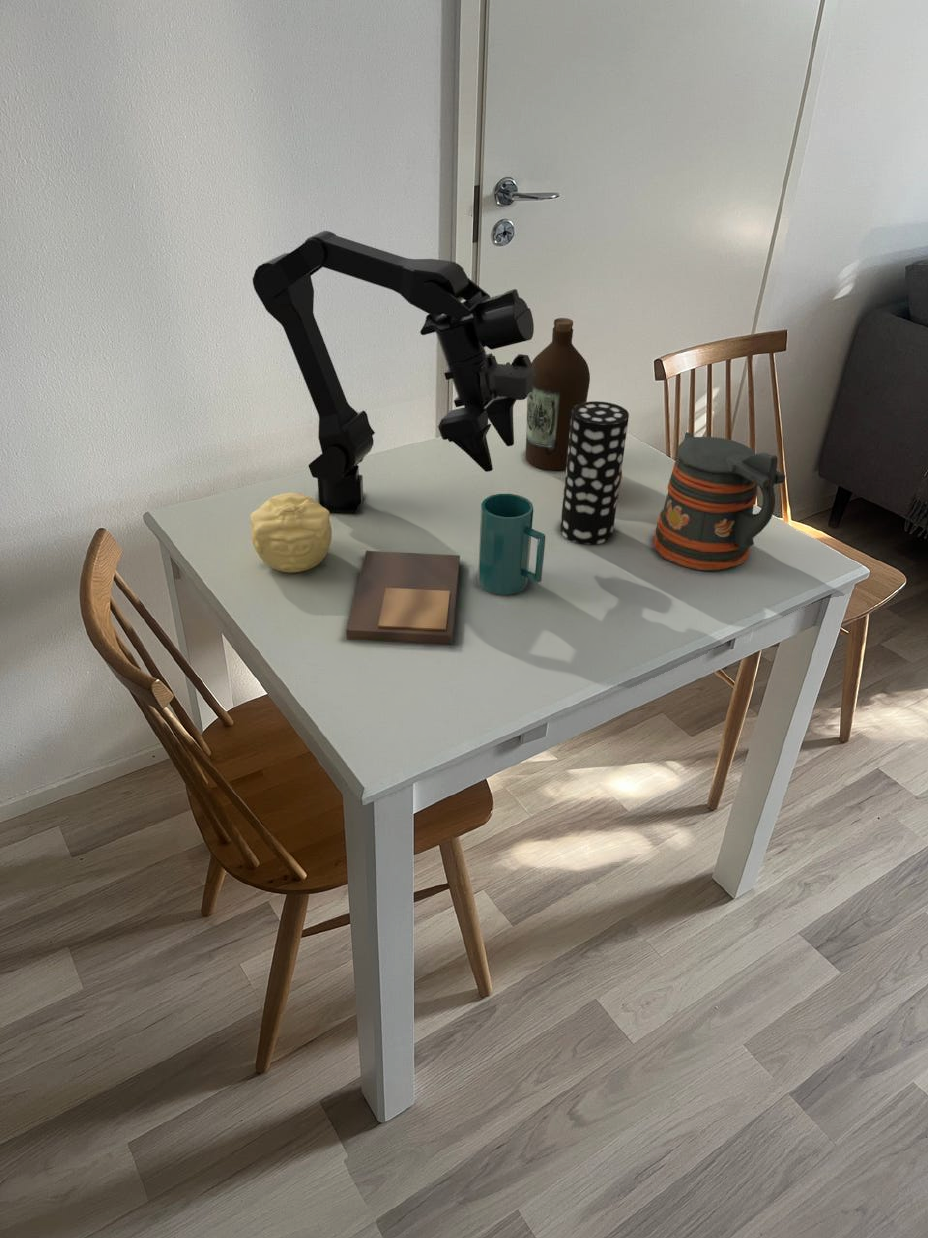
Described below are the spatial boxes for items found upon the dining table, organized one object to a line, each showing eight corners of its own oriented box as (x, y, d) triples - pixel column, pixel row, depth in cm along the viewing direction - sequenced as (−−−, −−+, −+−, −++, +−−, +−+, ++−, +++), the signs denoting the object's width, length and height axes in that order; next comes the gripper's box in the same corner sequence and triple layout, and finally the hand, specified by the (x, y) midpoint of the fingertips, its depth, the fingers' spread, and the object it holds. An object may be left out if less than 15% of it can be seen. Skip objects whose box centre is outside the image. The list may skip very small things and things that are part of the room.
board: (346, 639, 128) (345, 628, 127) (366, 559, 144) (365, 548, 143) (451, 644, 128) (452, 633, 127) (459, 563, 144) (460, 553, 143)
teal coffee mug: (468, 582, 140) (471, 506, 133) (498, 562, 144) (503, 488, 137) (524, 609, 135) (530, 532, 127) (554, 588, 139) (561, 512, 132)
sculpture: (254, 585, 138) (246, 519, 131) (256, 541, 147) (249, 478, 141) (334, 580, 139) (331, 515, 133) (331, 537, 149) (328, 475, 142)
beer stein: (791, 568, 145) (824, 447, 134) (724, 598, 138) (753, 472, 127) (699, 515, 158) (722, 400, 146) (633, 540, 151) (651, 421, 139)
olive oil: (548, 440, 179) (559, 305, 165) (593, 459, 173) (609, 321, 159) (509, 457, 173) (518, 319, 158) (554, 478, 167) (567, 336, 152)
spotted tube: (578, 549, 148) (592, 428, 136) (550, 524, 154) (561, 406, 142) (623, 537, 151) (640, 418, 140) (593, 513, 157) (607, 397, 146)
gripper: (493, 365, 124) (529, 475, 131) (538, 322, 138) (569, 423, 145) (420, 384, 130) (458, 488, 136) (470, 340, 144) (503, 437, 150)
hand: (500, 457), depth 142 cm, fingers open, 9 cm apart
